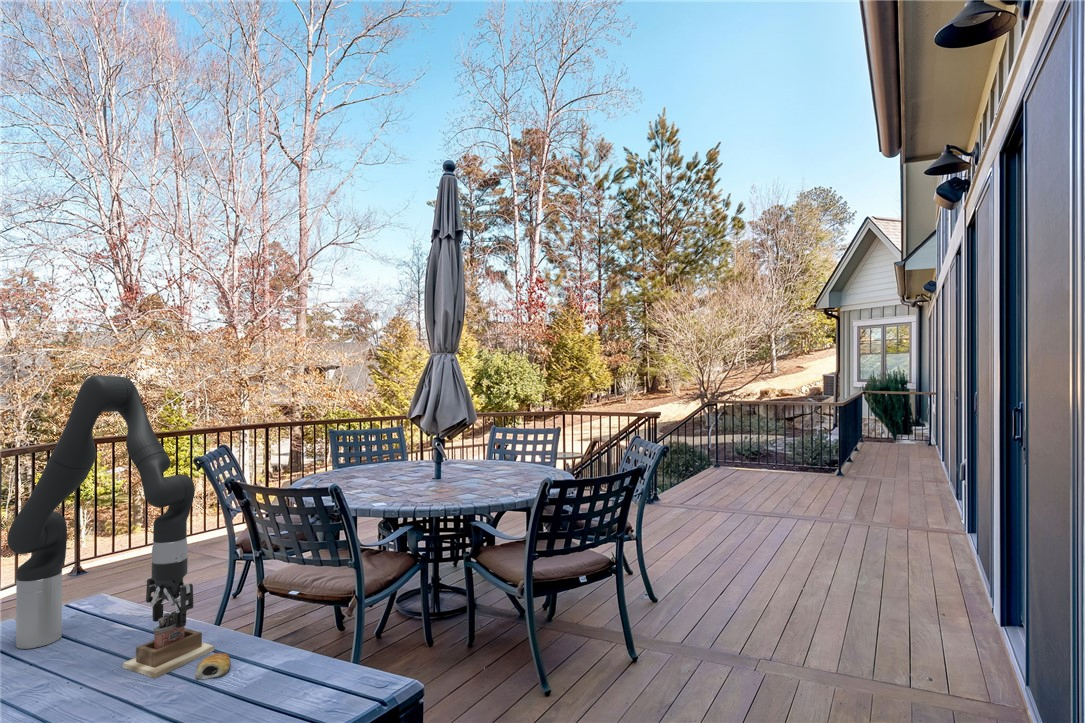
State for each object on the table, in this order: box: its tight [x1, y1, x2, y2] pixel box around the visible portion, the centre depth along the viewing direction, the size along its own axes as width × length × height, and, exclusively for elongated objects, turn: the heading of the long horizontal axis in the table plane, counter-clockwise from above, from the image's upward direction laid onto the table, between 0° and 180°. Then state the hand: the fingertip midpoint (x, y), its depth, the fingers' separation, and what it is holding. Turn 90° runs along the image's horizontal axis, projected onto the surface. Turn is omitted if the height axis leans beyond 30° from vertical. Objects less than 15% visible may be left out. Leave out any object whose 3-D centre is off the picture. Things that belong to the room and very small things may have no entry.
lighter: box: [153, 610, 185, 650], centre depth 148 cm, size 8×3×10 cm, turn 165°
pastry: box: [194, 652, 231, 680], centre depth 143 cm, size 9×7×4 cm
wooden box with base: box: [122, 627, 215, 679], centre depth 148 cm, size 12×15×5 cm
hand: (169, 623), depth 148 cm, fingers open, 8 cm apart
